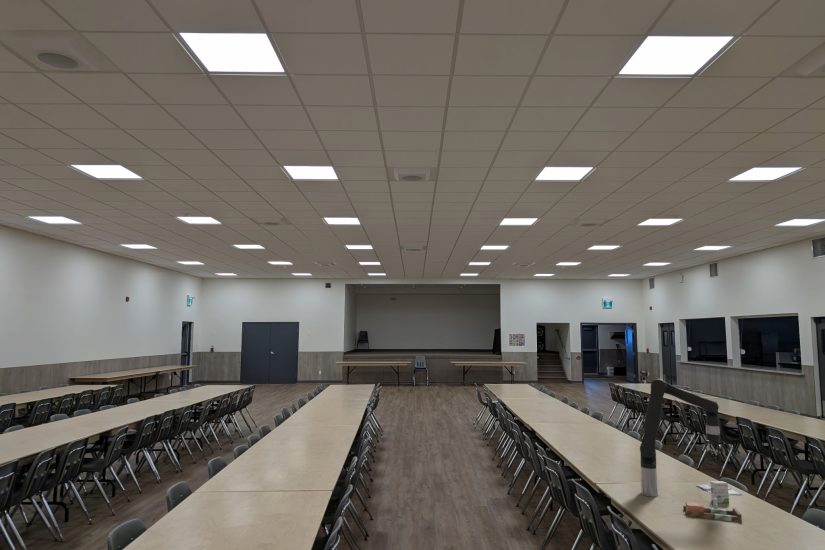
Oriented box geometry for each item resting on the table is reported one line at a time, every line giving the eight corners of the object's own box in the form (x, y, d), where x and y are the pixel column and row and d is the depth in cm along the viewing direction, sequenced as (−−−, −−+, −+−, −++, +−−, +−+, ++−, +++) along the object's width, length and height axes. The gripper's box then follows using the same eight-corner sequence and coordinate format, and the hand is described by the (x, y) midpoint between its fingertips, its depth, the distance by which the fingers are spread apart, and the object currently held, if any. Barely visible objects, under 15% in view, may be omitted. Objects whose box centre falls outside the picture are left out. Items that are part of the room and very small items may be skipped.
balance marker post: (714, 511, 291) (713, 498, 292) (713, 510, 293) (712, 497, 294) (718, 511, 290) (717, 499, 291) (717, 510, 292) (716, 498, 293)
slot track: (687, 516, 283) (686, 508, 283) (683, 509, 293) (683, 502, 294) (741, 522, 274) (741, 514, 275) (735, 515, 285) (735, 508, 285)
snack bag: (722, 486, 341) (722, 483, 341) (742, 496, 321) (742, 492, 321) (695, 486, 340) (695, 483, 340) (714, 496, 320) (713, 492, 320)
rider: (688, 515, 285) (687, 505, 285) (686, 511, 290) (685, 502, 291) (704, 516, 282) (703, 506, 283) (701, 513, 288) (700, 503, 289)
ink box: (724, 500, 311) (722, 480, 312) (729, 502, 306) (728, 483, 308) (711, 500, 311) (709, 480, 312) (716, 503, 306) (715, 483, 307)
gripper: (700, 430, 316) (701, 456, 314) (714, 435, 301) (715, 462, 300) (711, 430, 316) (712, 456, 314) (726, 435, 301) (727, 462, 300)
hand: (713, 459), depth 307 cm, fingers open, 8 cm apart
